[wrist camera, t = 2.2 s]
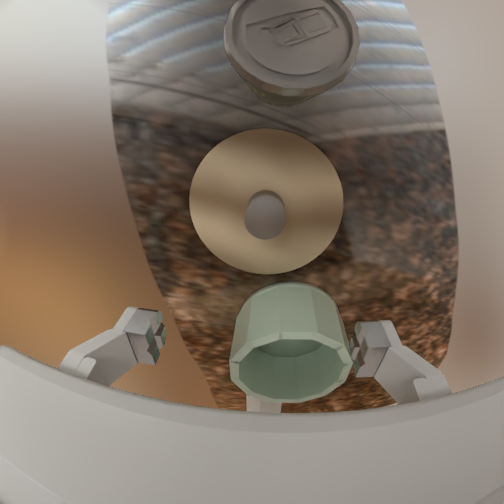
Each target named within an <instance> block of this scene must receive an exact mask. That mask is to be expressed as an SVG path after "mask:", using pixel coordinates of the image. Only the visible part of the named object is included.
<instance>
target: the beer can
mask: <svg viewBox="0 0 504 504" xmlns="http://www.w3.org/2000/svg"><path fill="white" fill-rule="evenodd" d="M358 48H359V33H358V27H357V24H356V22H355V20H354V18H353V16H352V14H351V12H350V11H349V9H348V8H347V7H346V6H345V5H344V4H343V3H342V2H341V1H340V0H237V1H236V3H235V4H234V5H233V6H232V7H231V9H230V12H229V14H228V17H227V20H226V22H225V28H224V49H225V51H226V53H227V56H228V58H229V60H230V63H231V65H232V66H233V67H234V68H235V70H236V71H237V72H238V73H239V74H240V76H241V77H242V78H243V79H244V81H245V82H246V83H247V84H248V86H249V87H250V88H251V89H252V91H253V92H254V93H255V94H256V95H257V96H258V97H259V98H260V99H262V100H263V101H265V102H267V103H269V104H272V105H276V106H292V105H296V104H300V103H302V102H304V101H306V100H308V99H310V98H312V97H314V96H316V95H319V94H321V93H323V92H325V91H327V90H328V89H330V88H332V87H333V86H335V85H336V84H338V83H340V82H341V81H342V80H343V79H344V78H345V76H346V75H347V74H348V73H349V72H350V70H351V69H352V68H353V65H354V62H355V58H356V55H357V52H358Z"/></svg>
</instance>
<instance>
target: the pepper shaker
mask: <svg viewBox="0 0 504 504" xmlns="http://www.w3.org/2000/svg"><path fill="white" fill-rule="evenodd" d="M246 400H247V411H250V412H267V413H280V412H281V405H282V403H271V402H268V401H265V400H262V399H259V398H256V397H253V396H250V395H247V394H246Z"/></svg>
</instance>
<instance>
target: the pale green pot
mask: <svg viewBox="0 0 504 504" xmlns="http://www.w3.org/2000/svg"><path fill="white" fill-rule="evenodd" d="M229 363H230V376H231V380H232V381H233V382H234V383H235V384H236V385H237V386H238V387H239V388H240V389H241V390H242V391H243V392H244V393H246V394H247V395H250V396H253V397H256V398H259V399H262V400H265V401H268V402H271V403H301V402H304V401H308V400H312V399H315V398H319V397H322V396H325V395H327V394H328V393H330V392H331V391H333V390H334V389H336V388H337V387H338V386H340V385H341V384H343V383H344V382H345V381H346V378H347V376H348V374H349V372H350V369H351V367H352V365H353V360H352V358H351V356H350V349H349V344H348V340H347V336H346V332H345V328H344V324H343V320H342V318H341V316H340V314H339V311H338V307H337V305H336V303H335V301H334V299H333V298H332V297H331V296H330V295H329V294H328V293H327V292H326V291H324V290H323V289H321V288H319V287H317V286H315V285H312V284H309V283H305V282H298V281H285V282H278V283H274V284H270V285H267V286H265V287H263V288H261V289H259V290H257V291H256V292H254V293H253V294H252V295H250V296H249V297H248V298H247V300H246V301H245V302H244V304H243V305H242V307H241V309H240V312H239V314H238V316H237V319H236V325H235V331H234V336H233V342H232V348H231V354H230V359H229Z"/></svg>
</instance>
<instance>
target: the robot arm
mask: <svg viewBox="0 0 504 504" xmlns="http://www.w3.org/2000/svg"><path fill="white" fill-rule="evenodd" d="M162 319H163V316H162V312H160V311H157V310H150V309H144V308H136V307H130V306H129V307H127V309H126V310H125V311H124V313H123V314H122V316H121V317H120V319H119V320H118V322H117V323H116V325H115V326H114V328H113V329H112V330H111V329H109V330H107V331H105V332H103V333H101V334H99V335H98V336H96V337H94V338H92V339H90V340H88V341H86V342H84V343H83V344H81V345H79V346H77V347H75V348H74V349H72V350H70V351H69V352H68V353H67V355H66V356H65V358H64V359H63V361H62V362H61V364H60V365H59V367H58V368H55V367H52V366H50V365H48V364H45V363H43V362H41V361H38V360H36V359H34V358H32V357H30V356H27V355H25V354H23V353H21V352H19V351H17V350H15V349H13V348H12V347H10V346H6V345H3V346H0V504H504V377H501V378H498V379H495V380H493V381H490V382H487V383H484V384H481V385H478V386H475V387H472V388H469V389H466V390H462V391H459V392H455V393H451V390H450V388H449V386H448V383H447V381H446V379H445V377H444V375H443V373H442V372H440V371H439V370H438V369H437V368H435V367H434V366H432V365H431V364H430V363H428V362H427V361H426V360H424V359H423V358H422V357H420V356H419V355H417V354H416V353H415V352H413V351H412V350H411V349H409V348H408V347H407V346H403V345H402V343H401V341H400V339H399V337H398V334H397V332H396V330H395V328H394V326H393V324H392V322H391V321H390V320H385V321H362V322H357V323H356V325H355V328H354V329H355V334H354V335H353V336H352V337H351V341H350V348H349V349H350V356H351V358H352V359H353V360H354V364H353V368H354V373H355V377H374V378H375V379H376V380H377V381H378V382H379V384H380V385H381V386H382V387H383V388H384V389H385V390H386V391H387V392H388V393H389V394H390V396H391V397H392V398H393V399H394V400H395V401H396V402H397V403H398V404H397V405H395V406H388V407H381V408H373V409H364V410H354V411H341V412H323V413H267V412H250V411H237V410H227V409H217V408H209V407H202V406H195V405H189V404H183V403H177V402H172V401H167V400H161V399H157V398H152V397H147V396H144V395H139V394H135V393H131V392H127V391H123V390H120V389H116V388H113V387H110V385H111V384H112V383H114V382H115V381H116V380H117V379H119V378H120V377H121V376H122V375H124V374H125V373H126V372H127V371H129V370H130V369H131V368H132V367H134V366H135V365H136V364H137V362H138V363H144V364H150V365H156V362H157V360H158V358H159V355H160V352H159V349H160V348H162V347H163V345H164V344H165V340H166V329H165V326H164V325H163V324H162V323H161V322H162Z"/></svg>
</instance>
